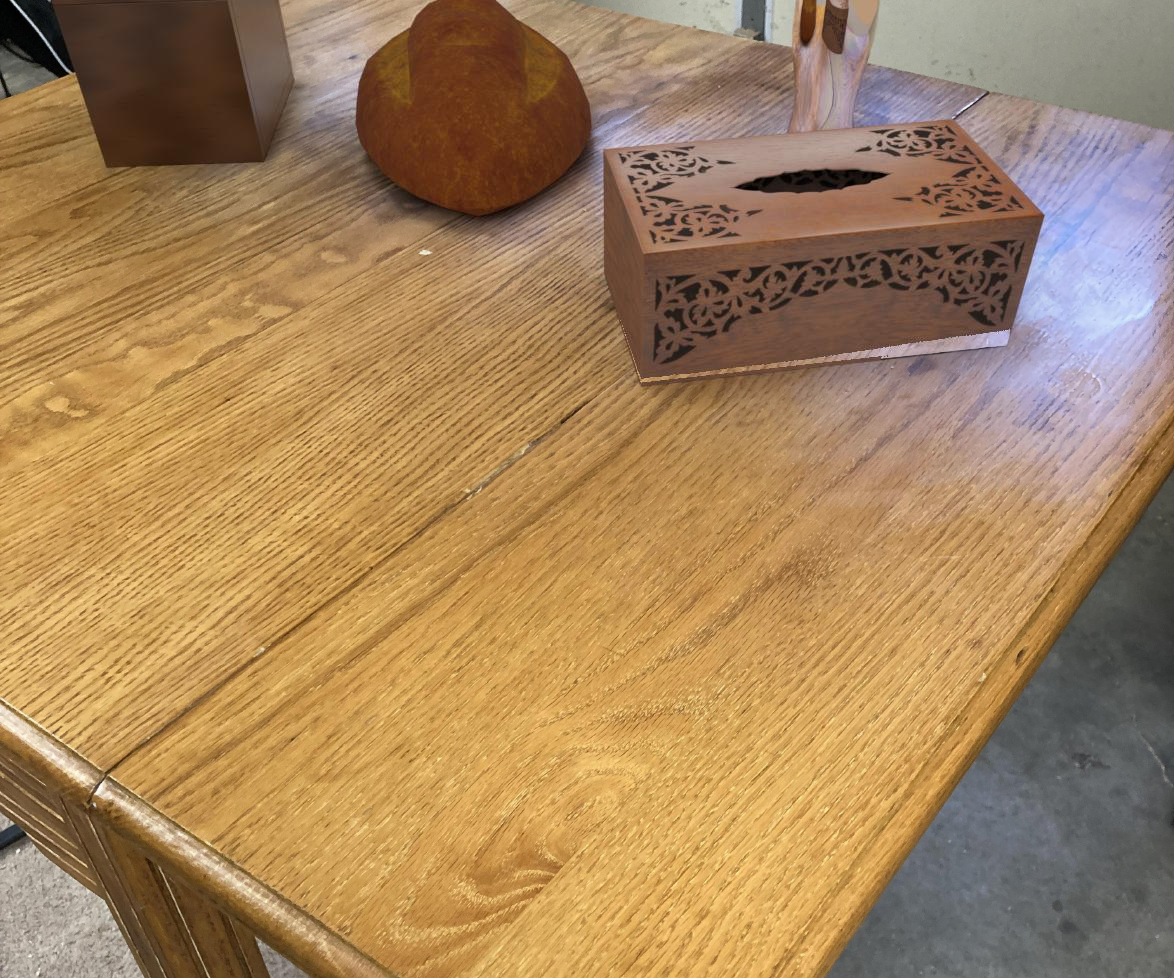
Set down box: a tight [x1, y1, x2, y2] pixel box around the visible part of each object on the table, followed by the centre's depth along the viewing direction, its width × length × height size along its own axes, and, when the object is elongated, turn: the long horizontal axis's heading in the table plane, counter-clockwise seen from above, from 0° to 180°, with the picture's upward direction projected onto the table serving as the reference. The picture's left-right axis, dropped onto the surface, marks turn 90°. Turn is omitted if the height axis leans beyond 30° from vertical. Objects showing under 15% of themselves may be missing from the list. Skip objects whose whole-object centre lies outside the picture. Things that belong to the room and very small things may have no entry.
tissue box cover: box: [602, 118, 1046, 387], centre depth 78 cm, size 26×14×10 cm, turn 99°
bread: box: [355, 0, 593, 217], centre depth 98 cm, size 21×33×12 cm, turn 2°
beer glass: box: [785, 0, 881, 133], centre depth 96 cm, size 7×7×15 cm
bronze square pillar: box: [51, 0, 295, 168], centre depth 101 cm, size 14×18×16 cm
